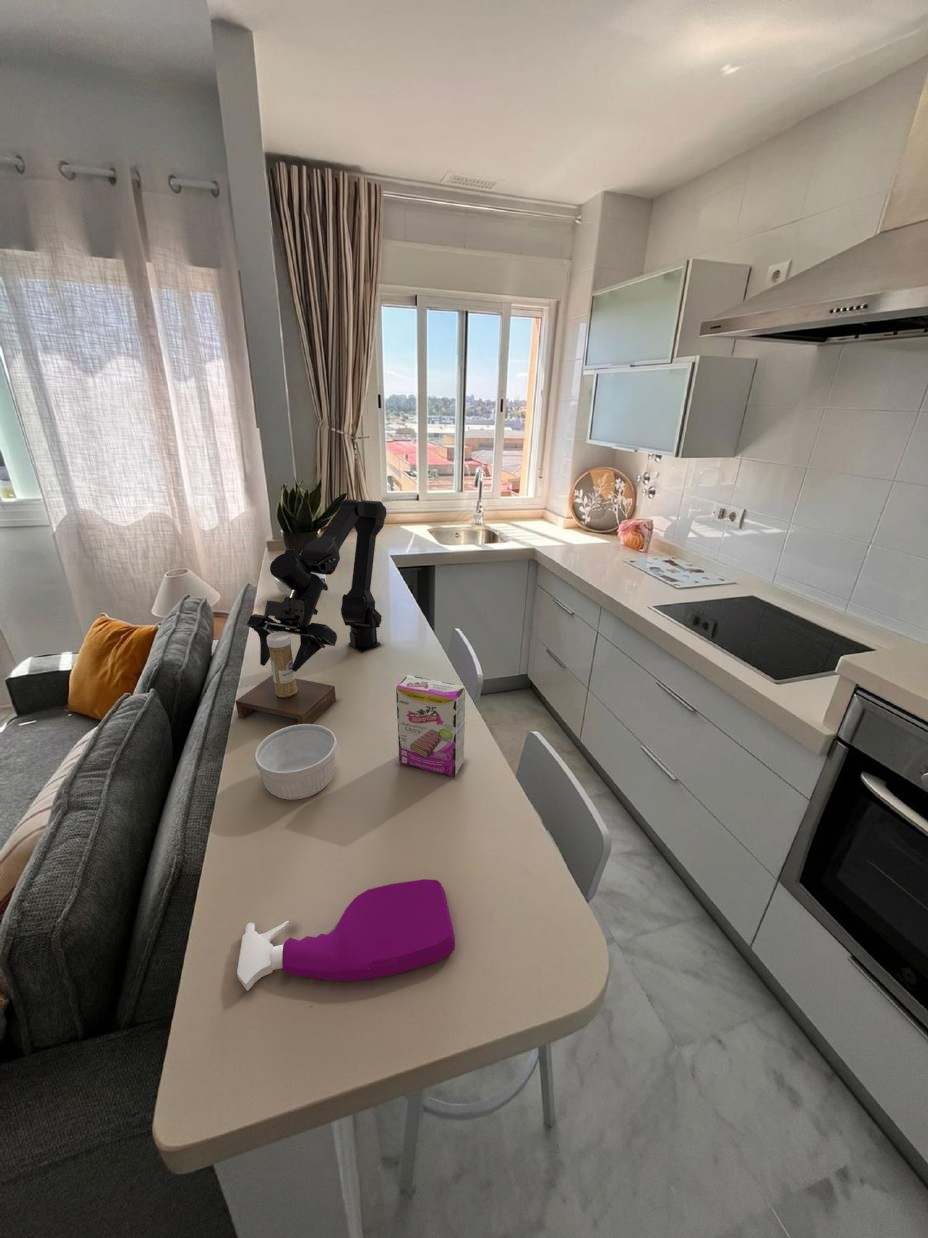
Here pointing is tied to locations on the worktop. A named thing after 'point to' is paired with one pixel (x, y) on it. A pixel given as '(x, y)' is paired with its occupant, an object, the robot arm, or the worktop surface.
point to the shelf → (289, 700)
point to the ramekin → (297, 760)
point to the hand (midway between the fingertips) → (277, 668)
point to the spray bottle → (361, 938)
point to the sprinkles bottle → (282, 663)
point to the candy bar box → (431, 724)
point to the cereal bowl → (287, 591)
